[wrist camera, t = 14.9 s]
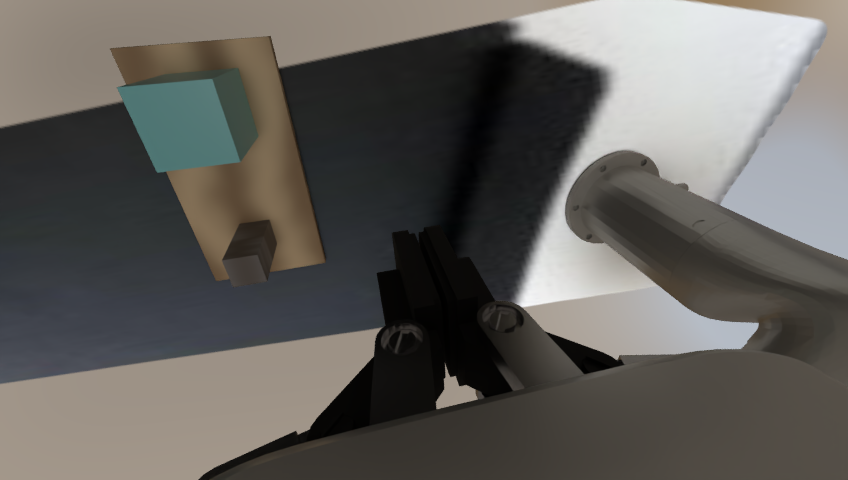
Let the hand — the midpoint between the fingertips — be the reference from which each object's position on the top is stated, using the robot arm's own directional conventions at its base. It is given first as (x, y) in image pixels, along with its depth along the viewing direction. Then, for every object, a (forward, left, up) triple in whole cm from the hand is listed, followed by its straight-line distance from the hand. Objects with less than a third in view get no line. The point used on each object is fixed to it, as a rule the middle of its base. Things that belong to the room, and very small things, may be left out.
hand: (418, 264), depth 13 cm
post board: (+13, +4, -27) cm, 30 cm away
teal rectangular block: (+13, -2, -26) cm, 29 cm away
